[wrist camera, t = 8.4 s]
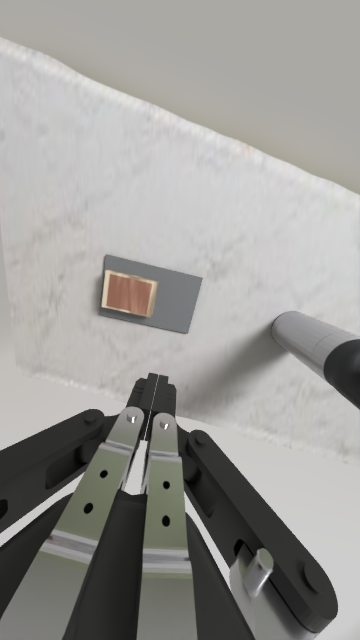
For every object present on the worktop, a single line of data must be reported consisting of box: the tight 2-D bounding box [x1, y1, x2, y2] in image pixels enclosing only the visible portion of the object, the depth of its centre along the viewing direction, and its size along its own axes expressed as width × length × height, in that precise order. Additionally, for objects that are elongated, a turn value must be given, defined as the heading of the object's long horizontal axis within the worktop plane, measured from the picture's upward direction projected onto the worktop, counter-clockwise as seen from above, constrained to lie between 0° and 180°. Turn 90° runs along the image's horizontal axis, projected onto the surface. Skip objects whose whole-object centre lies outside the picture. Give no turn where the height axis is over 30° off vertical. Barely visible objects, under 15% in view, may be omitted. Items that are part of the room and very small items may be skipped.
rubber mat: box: [99, 255, 203, 334], centre depth 43 cm, size 22×14×1 cm, turn 77°
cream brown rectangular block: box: [102, 270, 159, 318], centre depth 41 cm, size 3×8×11 cm
